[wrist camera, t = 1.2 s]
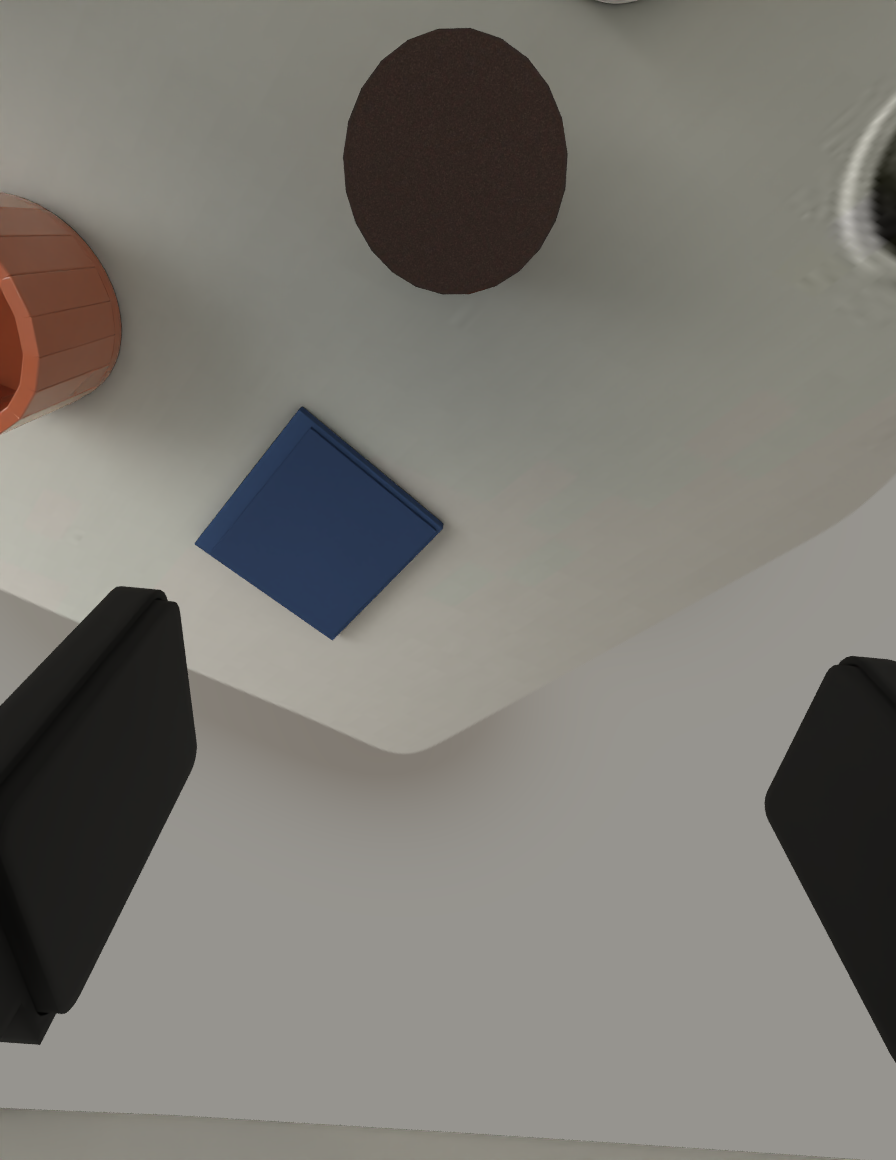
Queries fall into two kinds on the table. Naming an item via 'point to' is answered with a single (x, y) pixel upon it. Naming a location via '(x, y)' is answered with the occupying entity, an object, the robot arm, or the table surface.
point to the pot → (50, 314)
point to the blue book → (318, 527)
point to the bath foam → (616, 1)
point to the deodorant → (455, 161)
